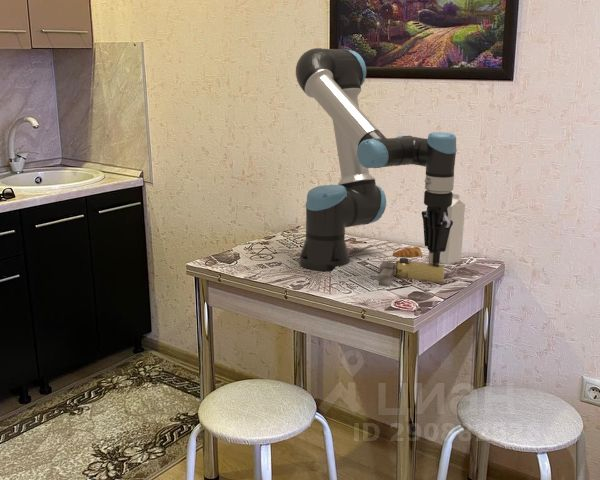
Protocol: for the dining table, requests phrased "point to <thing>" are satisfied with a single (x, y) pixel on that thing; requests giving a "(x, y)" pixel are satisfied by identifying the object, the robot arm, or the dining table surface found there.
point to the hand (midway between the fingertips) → (433, 273)
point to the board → (388, 272)
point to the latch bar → (420, 271)
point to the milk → (454, 232)
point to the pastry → (408, 252)
